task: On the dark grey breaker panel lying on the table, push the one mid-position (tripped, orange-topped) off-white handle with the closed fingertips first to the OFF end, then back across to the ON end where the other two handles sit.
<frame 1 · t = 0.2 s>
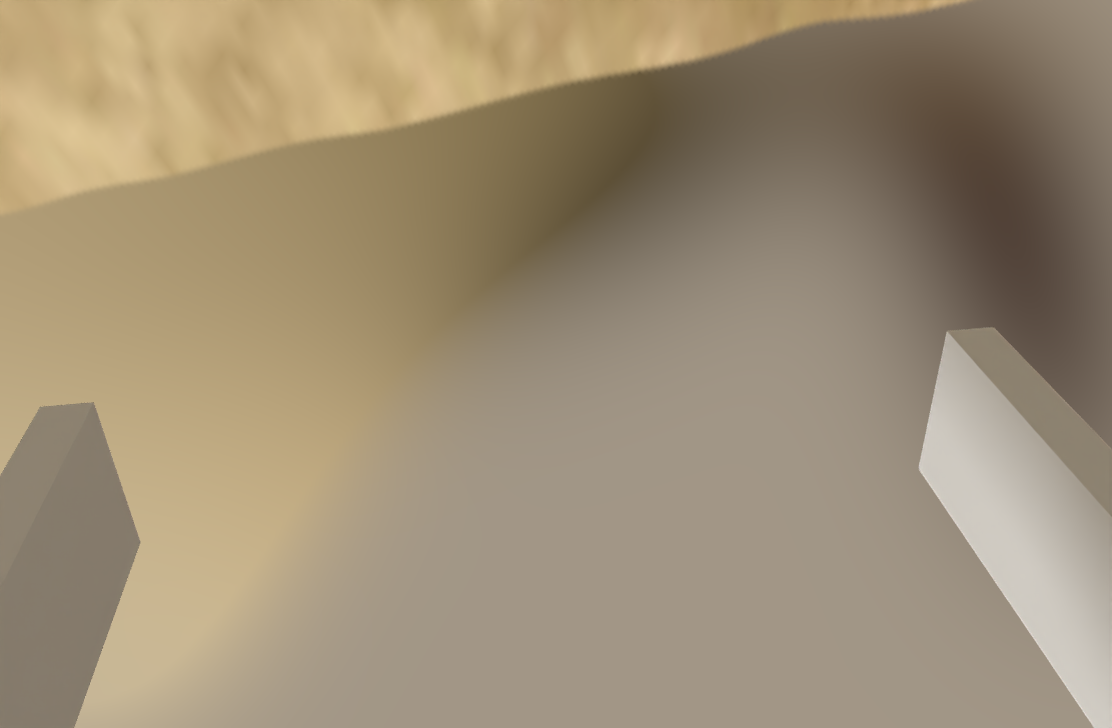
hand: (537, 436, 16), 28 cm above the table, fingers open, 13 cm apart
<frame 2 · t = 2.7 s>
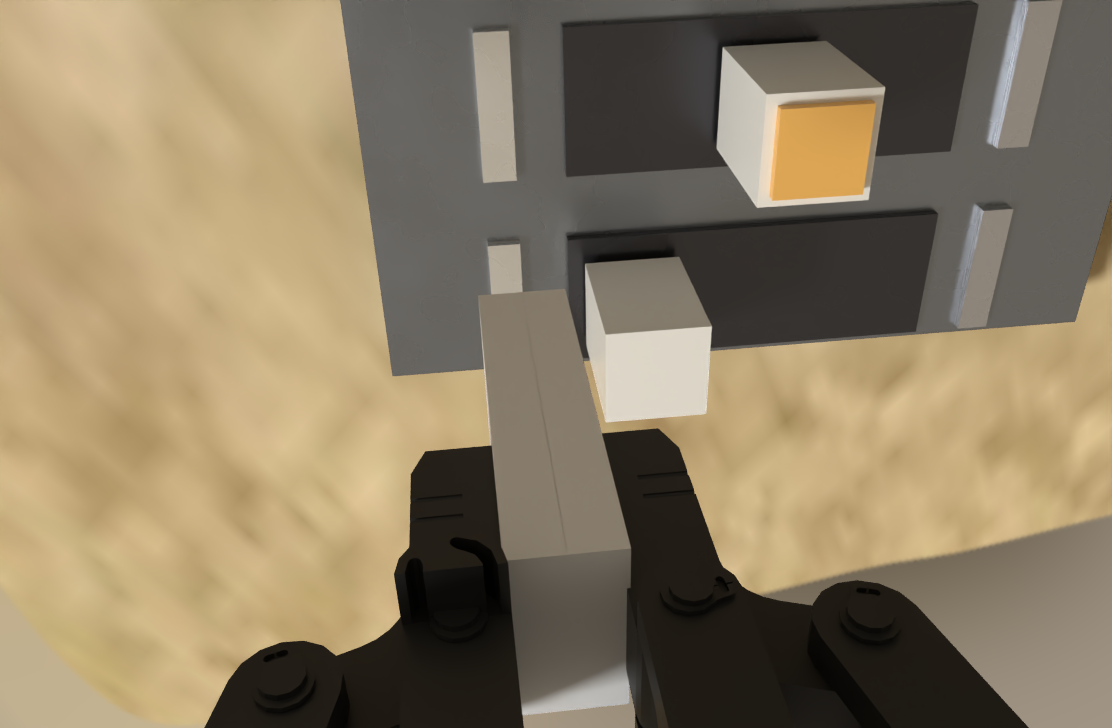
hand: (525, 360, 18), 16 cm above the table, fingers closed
breaker c: (643, 336, 30), point 5 cm above the table, slide at -4.0 cm
panel: (746, 70, 31), on the table
tripped breaker: (794, 122, 27), point 5 cm above the table, slide at 0.0 cm
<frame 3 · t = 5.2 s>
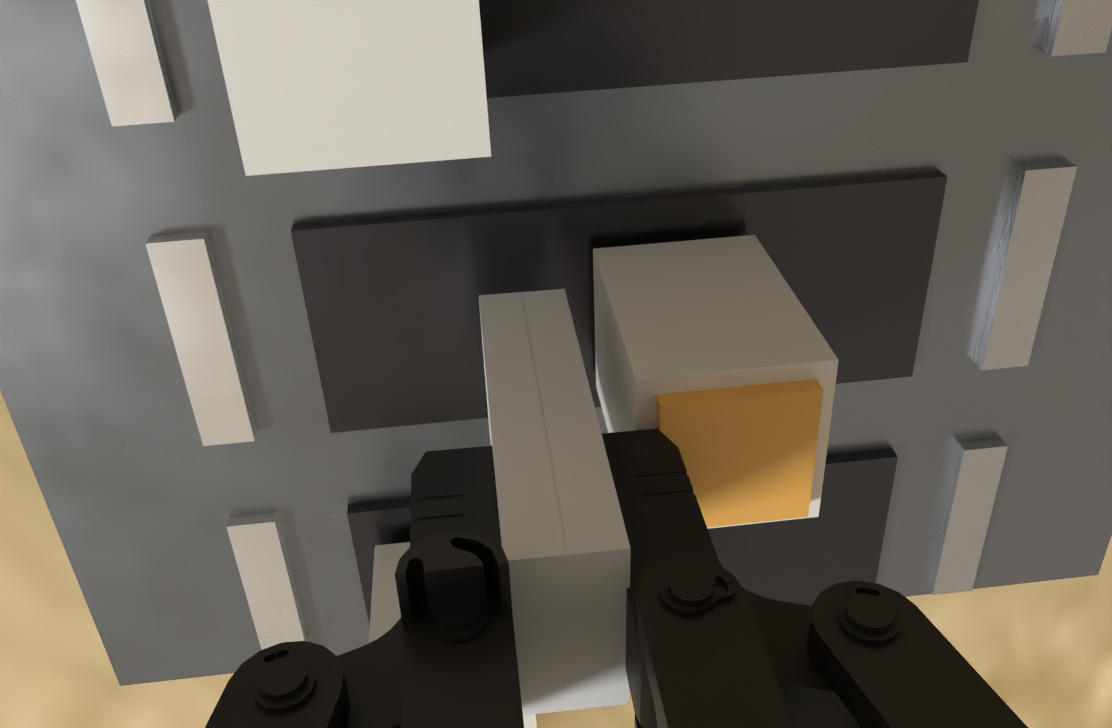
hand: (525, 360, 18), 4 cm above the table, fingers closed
breaker c: (454, 666, 20), point 5 cm above the table, slide at -4.0 cm
panel: (608, 257, 21), on the table
tripped breaker: (701, 380, 17), point 5 cm above the table, slide at 0.8 cm, touching gripper
breaker a: (361, 0, 13), point 5 cm above the table, slide at -4.0 cm
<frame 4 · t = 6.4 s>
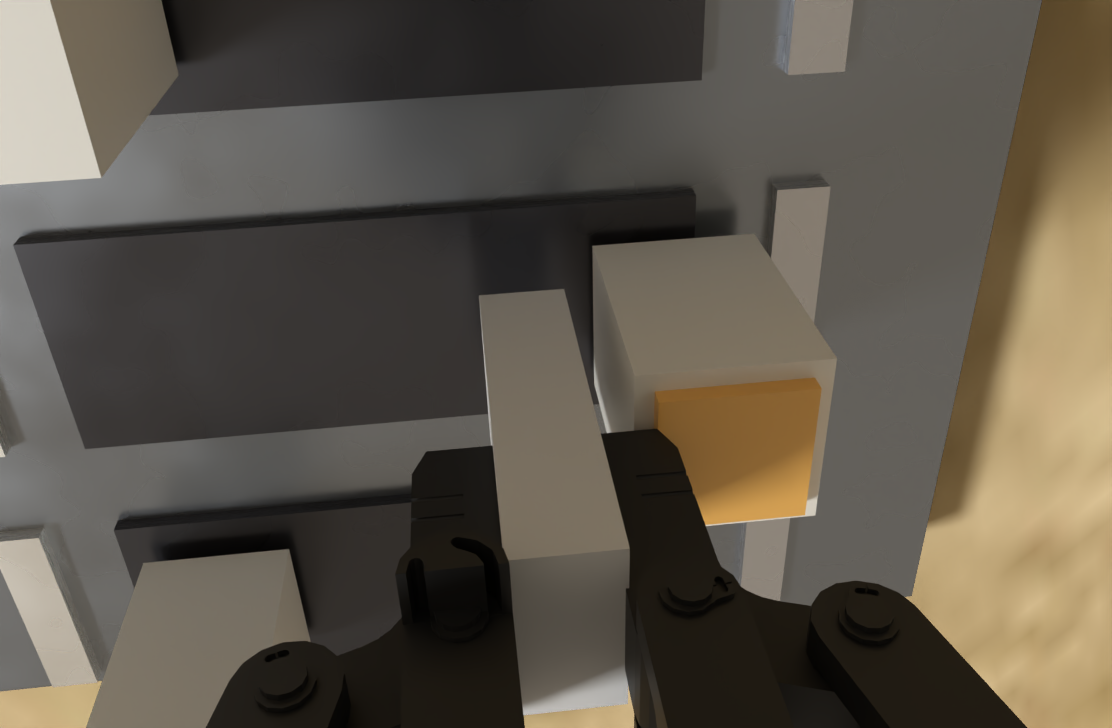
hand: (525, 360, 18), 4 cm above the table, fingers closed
breaker c: (212, 687, 20), point 5 cm above the table, slide at -4.0 cm
panel: (383, 272, 21), on the table
tripped breaker: (699, 377, 17), point 5 cm above the table, slide at 5.5 cm, touching gripper
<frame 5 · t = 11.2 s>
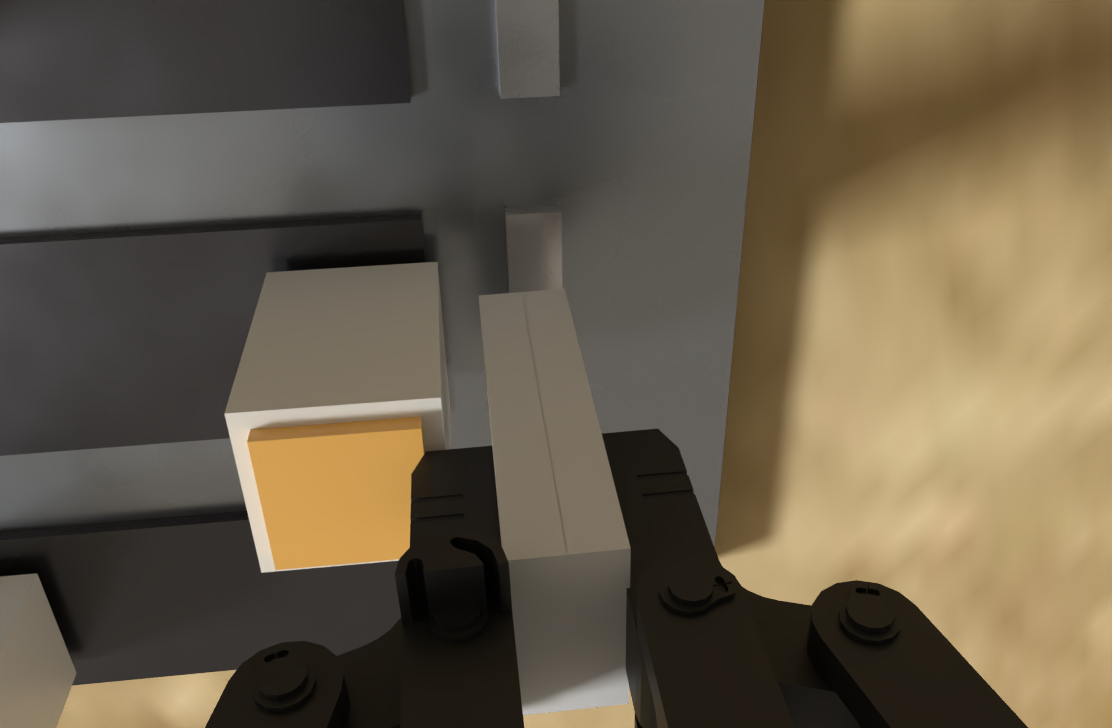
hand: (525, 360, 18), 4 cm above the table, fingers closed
panel: (135, 291, 20), on the table
tripped breaker: (355, 411, 17), point 5 cm above the table, slide at 4.7 cm, touching gripper
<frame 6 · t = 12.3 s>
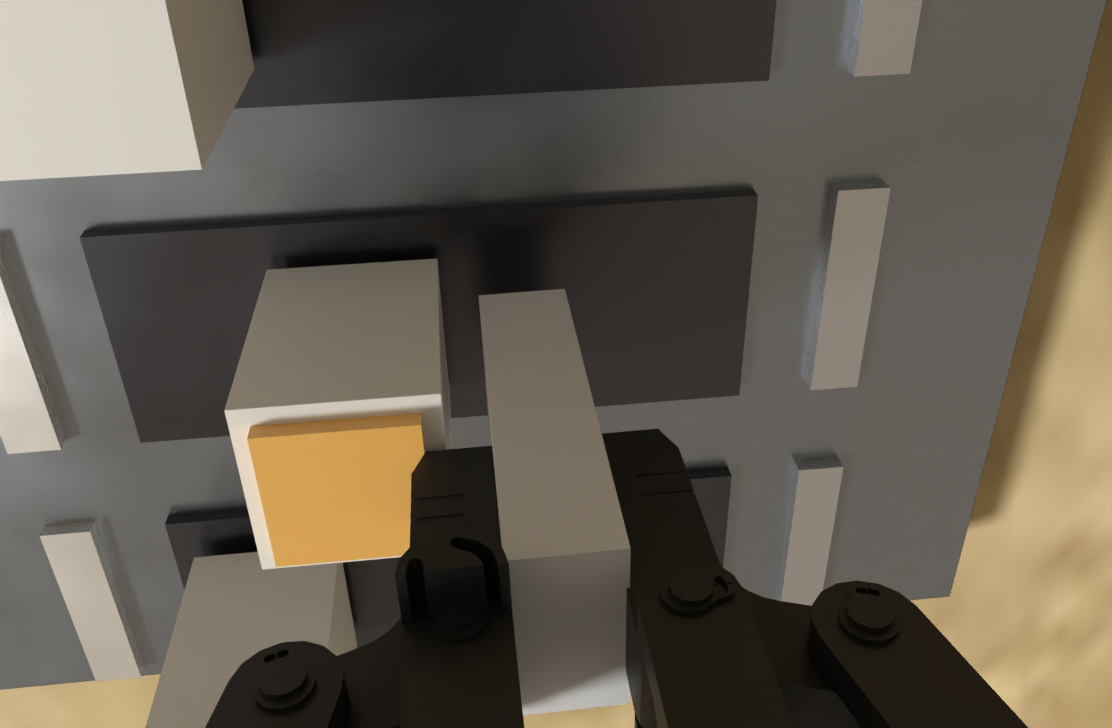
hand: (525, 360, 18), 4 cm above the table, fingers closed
breaker c: (265, 682, 20), point 5 cm above the table, slide at -4.0 cm
panel: (437, 269, 21), on the table
tripped breaker: (355, 408, 17), point 5 cm above the table, slide at -1.4 cm, touching gripper
breaker a: (92, 5, 13), point 5 cm above the table, slide at -4.0 cm
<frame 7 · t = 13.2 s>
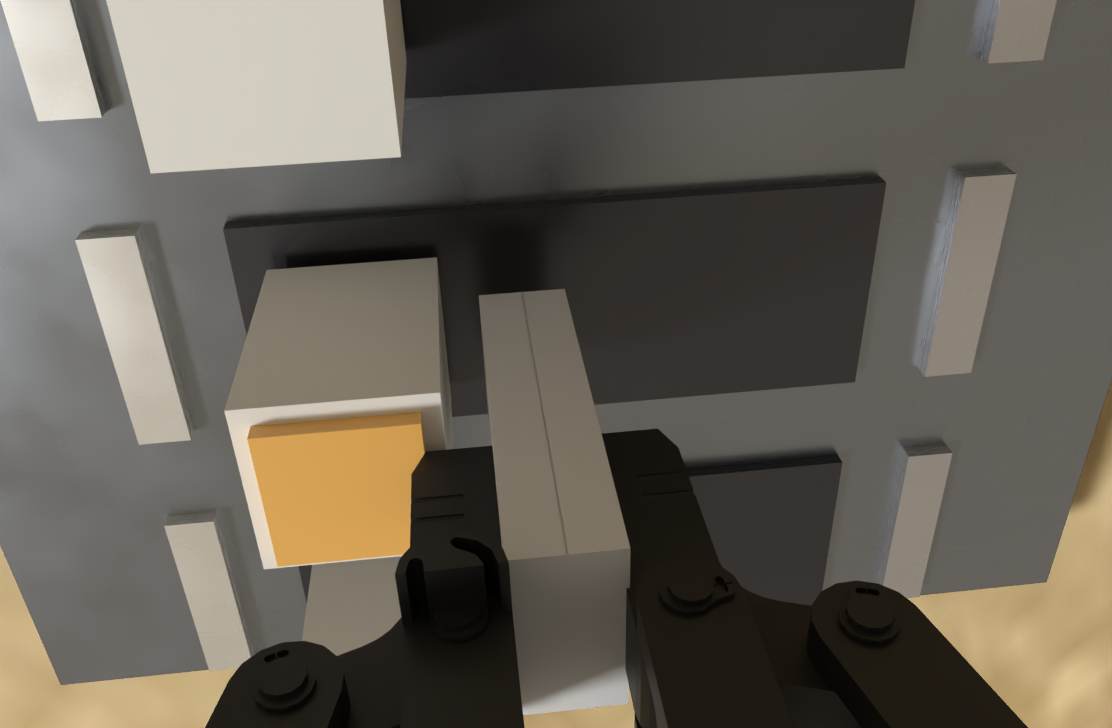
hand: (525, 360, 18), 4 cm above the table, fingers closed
breaker c: (391, 669, 20), point 5 cm above the table, slide at -4.0 cm
panel: (553, 259, 21), on the table
tripped breaker: (356, 407, 17), point 5 cm above the table, slide at -3.8 cm, touching gripper
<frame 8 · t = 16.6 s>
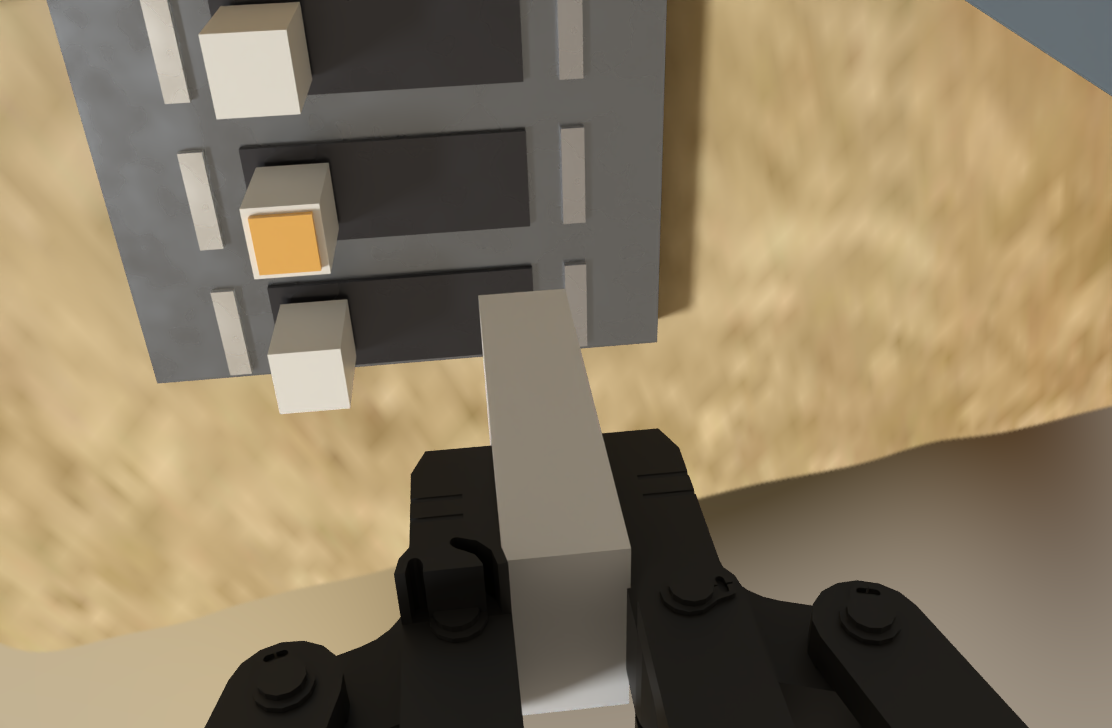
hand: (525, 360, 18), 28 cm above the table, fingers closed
breaker c: (314, 355, 44), point 5 cm above the table, slide at -4.0 cm
panel: (391, 170, 45), on the table
tripped breaker: (292, 220, 41), point 5 cm above the table, slide at -3.9 cm
breaker a: (259, 58, 37), point 5 cm above the table, slide at -4.0 cm
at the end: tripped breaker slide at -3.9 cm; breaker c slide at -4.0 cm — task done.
